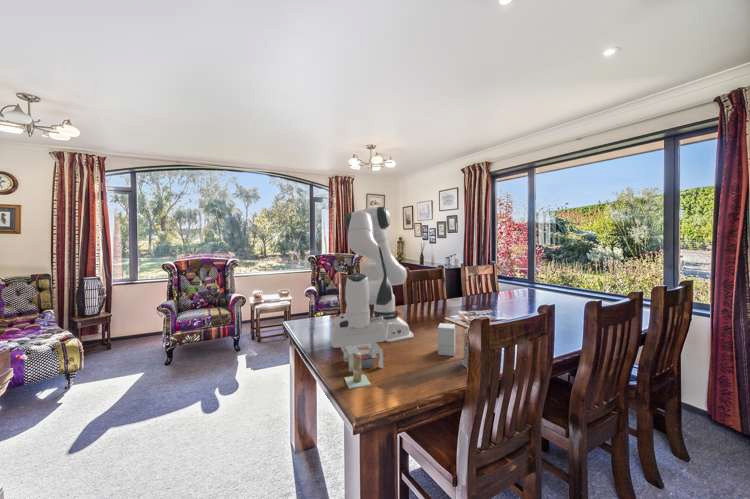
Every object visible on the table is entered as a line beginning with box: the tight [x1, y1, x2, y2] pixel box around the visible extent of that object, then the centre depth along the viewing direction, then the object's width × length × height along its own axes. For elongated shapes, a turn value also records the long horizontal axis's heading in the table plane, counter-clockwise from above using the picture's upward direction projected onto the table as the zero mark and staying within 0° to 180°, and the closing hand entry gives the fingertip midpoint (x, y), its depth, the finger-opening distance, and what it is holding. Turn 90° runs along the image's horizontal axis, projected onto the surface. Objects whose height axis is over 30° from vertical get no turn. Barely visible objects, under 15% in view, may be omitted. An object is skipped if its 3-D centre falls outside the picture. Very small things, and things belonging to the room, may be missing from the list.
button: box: [361, 355, 369, 360], centre depth 132 cm, size 4×4×3 cm
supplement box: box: [437, 322, 456, 357], centre depth 145 cm, size 7×7×13 cm
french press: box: [461, 305, 477, 369], centre depth 133 cm, size 10×12×25 cm
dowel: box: [352, 353, 362, 383], centre depth 117 cm, size 3×3×10 cm
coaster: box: [344, 374, 372, 390], centre depth 117 cm, size 8×8×1 cm
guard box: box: [342, 342, 384, 373], centre depth 133 cm, size 14×12×7 cm
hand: (358, 355), depth 117 cm, fingers open, 8 cm apart
